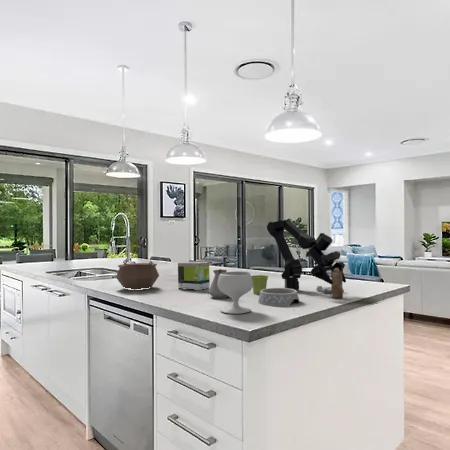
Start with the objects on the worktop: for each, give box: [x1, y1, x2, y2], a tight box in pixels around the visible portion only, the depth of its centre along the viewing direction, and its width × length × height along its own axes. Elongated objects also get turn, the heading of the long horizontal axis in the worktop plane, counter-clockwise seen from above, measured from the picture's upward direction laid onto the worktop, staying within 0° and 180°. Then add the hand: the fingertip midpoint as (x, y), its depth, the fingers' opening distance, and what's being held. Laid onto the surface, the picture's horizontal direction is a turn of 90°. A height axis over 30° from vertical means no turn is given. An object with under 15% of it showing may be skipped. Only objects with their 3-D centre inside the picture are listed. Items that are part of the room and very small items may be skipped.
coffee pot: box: [208, 268, 230, 299], centre depth 177 cm, size 21×12×15 cm, turn 0°
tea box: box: [177, 261, 211, 291], centre depth 210 cm, size 15×10×15 cm
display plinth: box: [316, 284, 345, 295], centre depth 190 cm, size 10×10×2 cm
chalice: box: [218, 271, 253, 315], centre depth 150 cm, size 14×14×15 cm
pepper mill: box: [330, 268, 344, 300], centre depth 173 cm, size 5×5×14 cm
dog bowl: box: [257, 287, 301, 307], centre depth 166 cm, size 17×18×5 cm
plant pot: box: [251, 274, 269, 295], centre depth 190 cm, size 9×9×9 cm
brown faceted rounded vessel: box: [115, 259, 160, 289], centre depth 214 cm, size 24×24×16 cm
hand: (339, 282), depth 172 cm, fingers open, 9 cm apart
